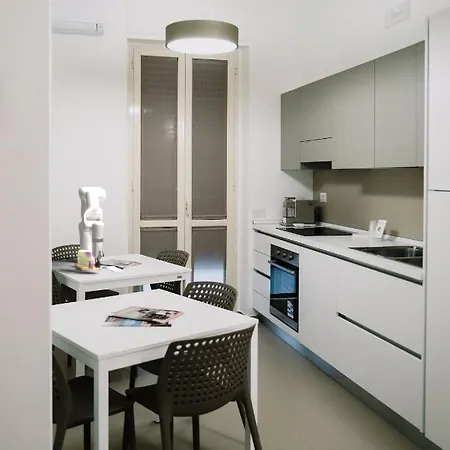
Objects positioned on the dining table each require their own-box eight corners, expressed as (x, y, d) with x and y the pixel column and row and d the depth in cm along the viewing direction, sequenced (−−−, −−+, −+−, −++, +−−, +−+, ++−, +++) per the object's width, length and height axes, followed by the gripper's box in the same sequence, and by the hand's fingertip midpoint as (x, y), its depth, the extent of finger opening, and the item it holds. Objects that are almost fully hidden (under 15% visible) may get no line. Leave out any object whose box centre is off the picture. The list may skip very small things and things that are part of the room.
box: (94, 266, 423) (94, 250, 422) (91, 268, 417) (91, 251, 416) (80, 265, 425) (80, 249, 424) (77, 267, 419) (77, 250, 418)
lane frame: (74, 266, 424) (74, 258, 423) (93, 265, 430) (93, 256, 430) (81, 270, 406) (81, 261, 406) (101, 269, 413) (101, 260, 412)
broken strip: (105, 267, 421) (105, 266, 421) (114, 267, 424) (114, 266, 424) (114, 271, 403) (114, 271, 403) (122, 271, 406) (122, 270, 406)
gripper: (89, 239, 400) (89, 266, 401) (95, 242, 387) (95, 269, 388) (99, 239, 403) (99, 265, 405) (106, 241, 390) (106, 268, 392)
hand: (97, 267), depth 396 cm, fingers closed
